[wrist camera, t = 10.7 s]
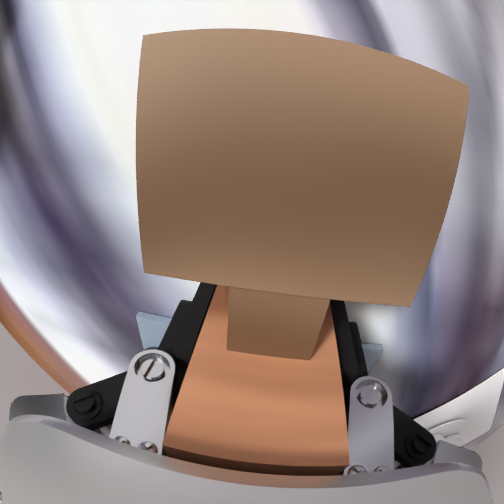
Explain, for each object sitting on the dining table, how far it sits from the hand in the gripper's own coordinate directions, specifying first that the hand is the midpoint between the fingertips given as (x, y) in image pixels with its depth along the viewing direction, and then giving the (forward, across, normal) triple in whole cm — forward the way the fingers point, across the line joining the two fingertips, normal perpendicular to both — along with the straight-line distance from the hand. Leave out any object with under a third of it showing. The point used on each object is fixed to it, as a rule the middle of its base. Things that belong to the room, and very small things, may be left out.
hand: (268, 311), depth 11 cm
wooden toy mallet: (+1, 0, +3) cm, 3 cm away
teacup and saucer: (+2, -20, +20) cm, 28 cm away
